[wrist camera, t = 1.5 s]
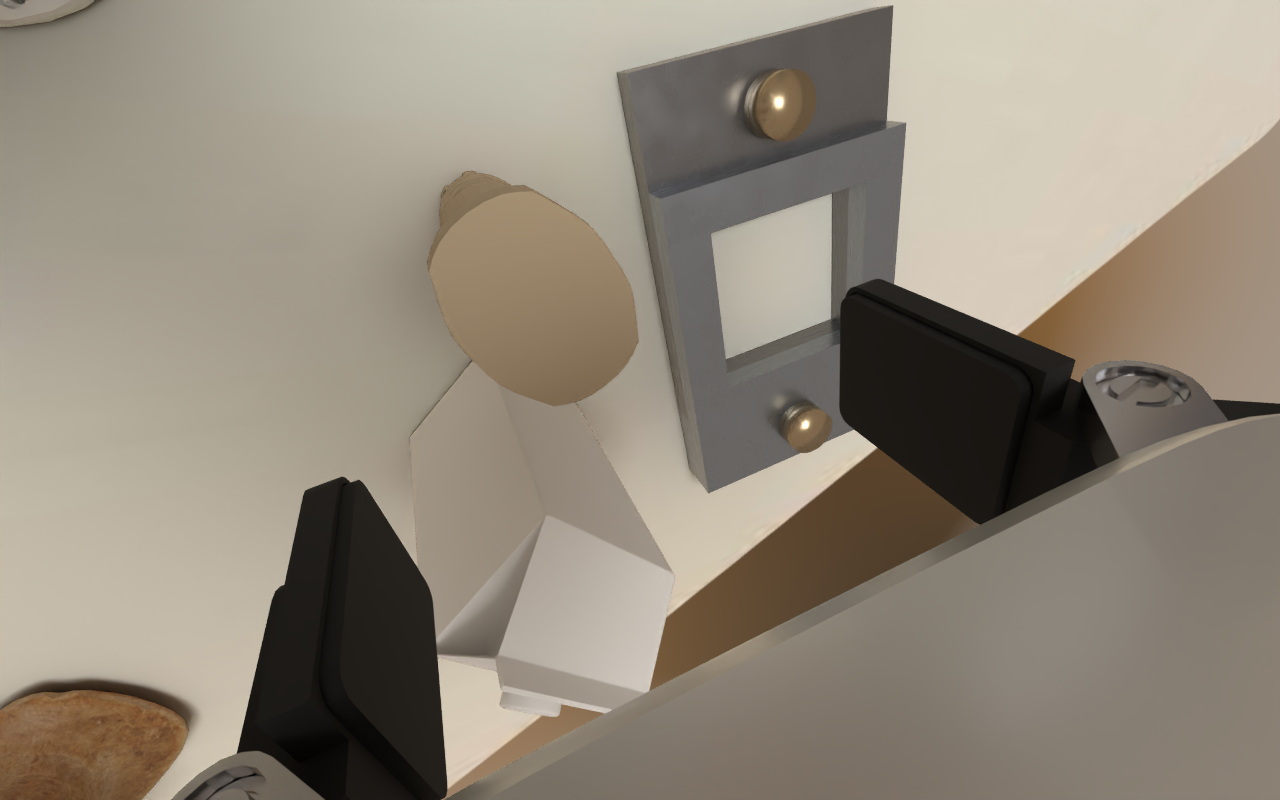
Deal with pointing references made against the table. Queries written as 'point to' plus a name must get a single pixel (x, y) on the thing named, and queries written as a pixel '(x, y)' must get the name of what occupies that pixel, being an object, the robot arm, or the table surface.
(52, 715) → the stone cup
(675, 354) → the lower end link
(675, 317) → the upper end link
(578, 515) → the milk carton
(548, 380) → the handle
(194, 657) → the table surface
